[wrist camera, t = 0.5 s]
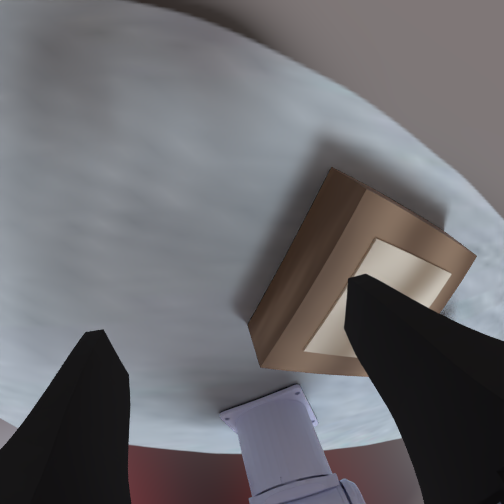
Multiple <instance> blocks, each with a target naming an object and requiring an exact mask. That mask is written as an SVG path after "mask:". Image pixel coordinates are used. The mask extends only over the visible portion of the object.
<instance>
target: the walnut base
mask: <svg viewBox="0 0 504 504" xmlns="http://www.w3.org/2000/svg"><path fill="white" fill-rule="evenodd" d="M476 257H477V256H476V255H475V254H474V253H472V252H471V251H470V250H468V249H467V248H466V247H465V246H463V245H462V244H461V243H459V242H458V241H457V240H455V239H454V238H453V237H451V236H450V235H448V234H447V233H446V232H444V231H443V230H441V229H440V228H438V227H437V226H435V225H433V224H432V223H430V222H429V221H427V220H425V219H424V218H422V217H421V216H419V215H417V214H416V213H414V212H412V211H411V210H409V209H407V208H406V207H404V206H402V205H401V204H399V203H397V202H395V201H394V200H392V199H390V198H388V197H387V196H385V195H383V194H381V193H380V192H378V191H376V190H374V189H372V188H371V187H369V186H367V185H365V184H363V183H361V182H360V181H358V180H356V179H354V178H352V177H350V176H348V175H346V174H344V173H342V172H341V171H339V170H337V169H335V168H333V167H331V169H330V171H329V173H328V175H327V177H326V179H325V181H324V183H323V185H322V187H321V189H320V191H319V193H318V195H317V197H316V198H315V200H314V202H313V204H312V206H311V208H310V210H309V212H308V214H307V216H306V218H305V220H304V222H303V223H302V225H301V227H300V229H299V231H298V233H297V235H296V237H295V239H294V241H293V242H292V244H291V246H290V248H289V250H288V252H287V254H286V256H285V257H284V259H283V261H282V263H281V265H280V267H279V269H278V270H277V272H276V274H275V276H274V278H273V280H272V282H271V283H270V285H269V287H268V289H267V291H266V293H265V294H264V296H263V298H262V300H261V302H260V303H259V305H258V307H257V309H256V311H255V313H254V314H253V316H252V318H251V320H250V322H249V323H248V328H249V332H250V335H251V338H252V342H253V345H254V349H255V352H256V355H257V359H258V362H259V365H260V367H261V368H269V369H277V370H286V371H295V372H305V373H317V374H329V375H345V376H364V377H369V376H368V375H367V373H366V371H365V370H364V368H363V366H362V365H361V363H360V361H359V360H358V358H357V356H356V355H355V352H354V350H353V348H352V346H351V344H350V342H349V339H348V337H347V335H346V332H345V330H344V322H345V311H346V299H347V286H348V278H351V277H355V276H358V275H362V274H368V275H370V276H372V277H374V278H376V279H378V280H380V281H381V282H383V283H385V284H387V285H389V286H390V287H392V288H394V289H396V290H397V291H399V292H401V293H403V294H404V295H406V296H408V297H410V298H411V299H413V300H415V301H417V302H419V303H420V304H422V305H424V306H426V307H428V308H430V309H431V310H433V311H435V312H437V313H440V312H441V311H442V309H443V308H444V306H445V305H446V303H447V302H448V301H449V299H450V298H451V296H452V295H453V293H454V292H455V290H456V289H457V287H458V286H459V284H460V283H461V281H462V280H463V278H464V276H465V275H466V273H467V272H468V270H469V268H470V267H471V265H472V264H473V262H474V260H475V259H476Z"/></svg>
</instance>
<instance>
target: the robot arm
mask: <svg viewBox="0 0 504 504" xmlns="http://www.w3.org/2000/svg"><path fill="white" fill-rule="evenodd" d="M344 330H345V332H346V335H347V337H348V339H349V342H350V344H351V346H352V348H353V350H354V352H355V355H356V356H357V358H358V360H359V361H360V363H361V365H362V366H363V368H364V370H365V371H366V373H367V375H368V376H369V378H370V379H371V381H372V383H373V384H374V386H375V388H376V389H377V391H378V392H379V394H380V396H381V397H382V399H383V401H384V402H385V404H386V406H387V407H388V409H389V411H390V413H391V415H392V416H393V418H394V420H395V422H396V425H397V427H398V429H399V432H400V434H401V436H402V438H403V441H404V443H405V446H406V448H407V451H408V453H409V456H410V459H411V461H412V464H413V467H414V470H415V473H416V476H417V479H418V482H419V485H420V488H421V492H422V496H423V500H424V504H504V341H501V340H499V339H496V338H493V337H490V336H488V335H485V334H483V333H480V332H478V331H475V330H473V329H470V328H468V327H466V326H464V325H461V324H459V323H457V322H455V321H453V320H451V319H449V318H447V317H445V316H443V315H441V314H439V313H437V312H435V311H433V310H431V309H430V308H428V307H426V306H424V305H422V304H420V303H419V302H417V301H415V300H413V299H411V298H410V297H408V296H406V295H404V294H403V293H401V292H399V291H397V290H396V289H394V288H392V287H390V286H389V285H387V284H385V283H383V282H381V281H380V280H378V279H376V278H374V277H372V276H370V275H368V274H362V275H358V276H355V277H351V278H348V286H347V299H346V311H345V322H344ZM219 415H220V418H221V419H222V420H223V421H224V422H225V423H226V424H227V425H228V426H229V427H230V428H231V429H232V430H233V431H234V432H235V433H237V434H238V438H239V442H240V447H241V451H242V455H243V460H244V464H245V468H246V473H247V477H248V481H249V485H250V489H251V493H252V497H251V498H249V502H250V504H365V501H364V499H363V497H362V495H361V493H360V491H359V489H358V487H357V486H356V485H355V483H353V482H351V481H349V480H347V479H342V480H340V481H339V480H338V477H337V475H336V473H335V474H332V472H331V469H330V467H329V464H328V462H327V460H326V457H325V454H324V452H323V449H322V447H321V444H320V442H319V439H318V437H317V434H316V432H315V429H314V427H315V426H317V425H318V421H317V419H316V417H315V415H314V413H313V411H312V409H311V407H310V405H309V403H308V401H307V399H306V396H305V394H304V392H303V390H302V388H301V386H300V385H293V386H291V387H288V388H286V389H283V390H281V391H278V392H276V393H273V394H271V395H268V396H265V397H263V398H260V399H257V400H255V401H252V402H249V403H246V404H244V405H241V406H238V407H235V408H232V409H229V410H226V411H223V412H221V413H220V414H219ZM129 421H130V387H129V374H128V373H127V371H126V369H125V367H124V366H123V364H122V362H121V361H120V359H119V357H118V355H117V353H116V352H115V350H114V348H113V346H112V344H111V343H110V341H109V339H108V337H107V335H106V333H105V331H104V329H103V330H97V331H90V332H85V334H84V335H83V336H82V338H81V339H80V340H79V342H78V343H77V345H76V346H75V347H74V349H73V350H72V352H71V353H70V355H69V356H68V358H67V359H66V361H65V362H64V364H63V365H62V367H61V368H60V370H59V371H58V373H57V374H56V376H55V377H54V379H53V380H52V382H51V383H50V385H49V386H48V388H47V389H46V391H45V392H44V394H43V395H42V396H41V398H40V399H39V401H38V402H37V404H36V405H35V406H34V408H33V409H32V411H31V412H30V414H29V415H28V416H27V418H26V419H25V420H24V422H23V423H22V424H21V426H20V427H19V428H18V429H17V431H16V432H15V433H14V434H13V436H12V437H11V438H10V439H9V441H8V442H7V443H6V444H5V445H4V446H3V447H2V448H1V449H0V504H131V498H130V490H129V482H128V442H129Z"/></svg>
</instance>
